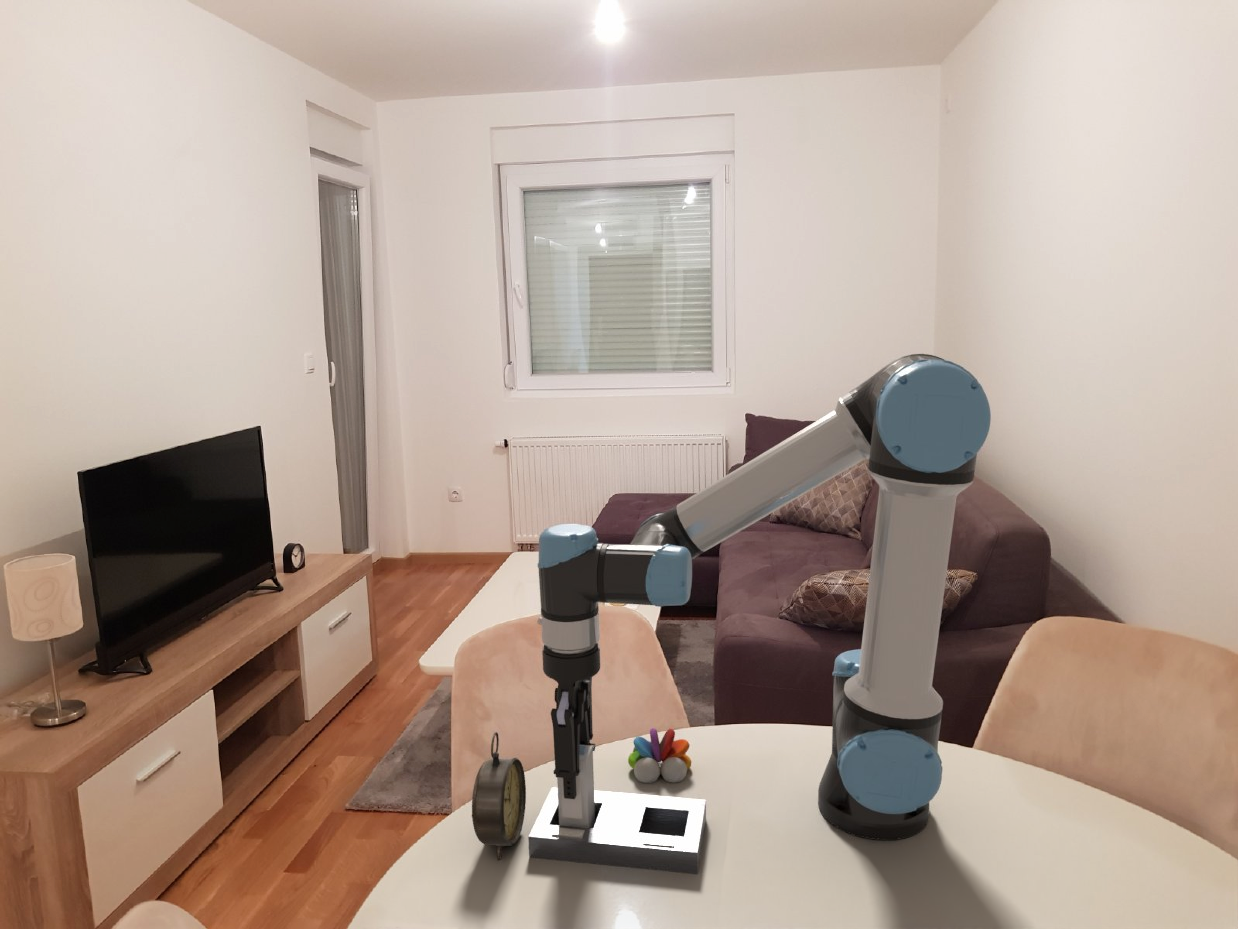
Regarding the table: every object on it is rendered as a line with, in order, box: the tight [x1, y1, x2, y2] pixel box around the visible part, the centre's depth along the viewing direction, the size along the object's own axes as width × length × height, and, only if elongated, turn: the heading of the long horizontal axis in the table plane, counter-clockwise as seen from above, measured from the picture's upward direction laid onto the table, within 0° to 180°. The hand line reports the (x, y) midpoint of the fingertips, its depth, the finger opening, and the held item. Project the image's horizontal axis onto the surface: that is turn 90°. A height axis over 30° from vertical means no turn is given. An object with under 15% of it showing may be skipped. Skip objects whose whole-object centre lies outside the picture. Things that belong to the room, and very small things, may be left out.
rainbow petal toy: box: [627, 727, 692, 784], centre depth 136 cm, size 8×10×7 cm
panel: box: [528, 786, 707, 875], centre depth 119 cm, size 22×12×4 cm, turn 79°
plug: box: [556, 745, 595, 828], centre depth 119 cm, size 4×4×13 cm
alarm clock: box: [471, 731, 527, 861], centre depth 118 cm, size 11×5×16 cm, turn 171°
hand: (576, 806), depth 120 cm, fingers closed on plug, 4 cm apart
